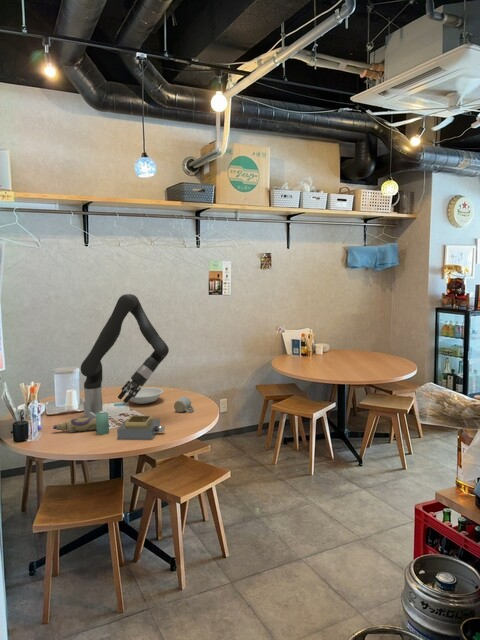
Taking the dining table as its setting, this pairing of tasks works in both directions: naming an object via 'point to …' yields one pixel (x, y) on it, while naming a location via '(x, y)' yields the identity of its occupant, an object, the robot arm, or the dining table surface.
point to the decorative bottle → (78, 424)
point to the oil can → (101, 422)
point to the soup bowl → (146, 395)
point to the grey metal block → (139, 428)
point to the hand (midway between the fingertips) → (121, 400)
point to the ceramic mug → (183, 405)
